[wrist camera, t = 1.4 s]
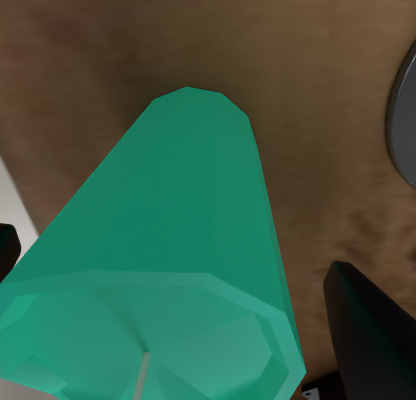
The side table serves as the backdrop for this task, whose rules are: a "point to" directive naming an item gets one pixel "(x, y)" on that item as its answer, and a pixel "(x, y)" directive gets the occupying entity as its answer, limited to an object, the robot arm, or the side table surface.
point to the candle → (159, 271)
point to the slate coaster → (404, 119)
